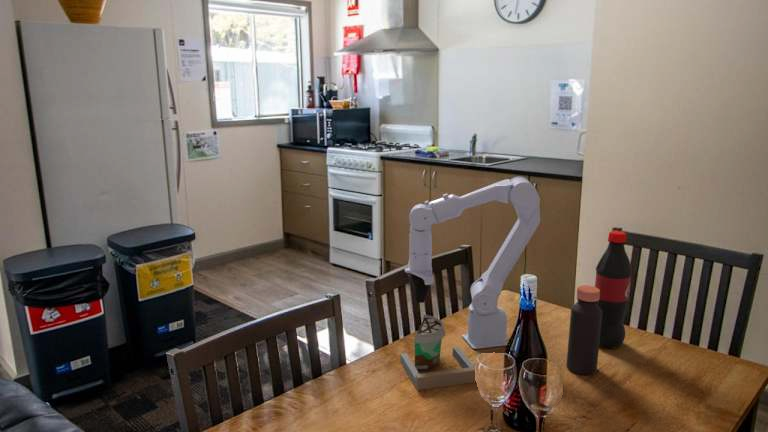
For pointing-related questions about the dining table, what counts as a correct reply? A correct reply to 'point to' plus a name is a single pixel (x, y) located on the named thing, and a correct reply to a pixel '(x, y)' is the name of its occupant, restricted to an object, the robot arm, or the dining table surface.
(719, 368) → the dining table surface
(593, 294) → the dark grey water bottle
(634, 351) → the dining table surface
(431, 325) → the food container
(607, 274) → the cola bottle
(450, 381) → the frame
